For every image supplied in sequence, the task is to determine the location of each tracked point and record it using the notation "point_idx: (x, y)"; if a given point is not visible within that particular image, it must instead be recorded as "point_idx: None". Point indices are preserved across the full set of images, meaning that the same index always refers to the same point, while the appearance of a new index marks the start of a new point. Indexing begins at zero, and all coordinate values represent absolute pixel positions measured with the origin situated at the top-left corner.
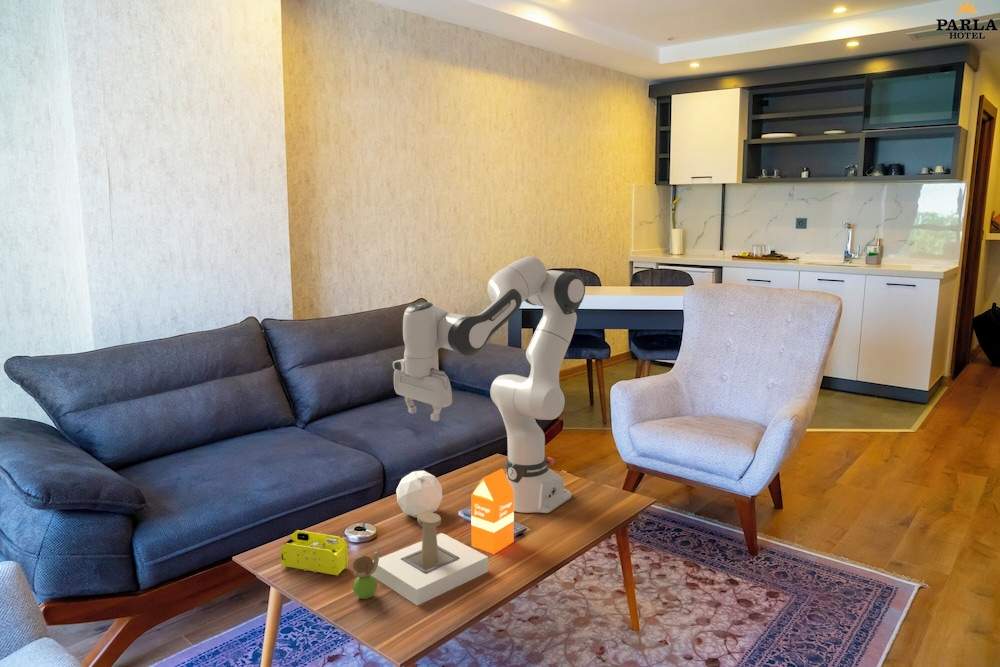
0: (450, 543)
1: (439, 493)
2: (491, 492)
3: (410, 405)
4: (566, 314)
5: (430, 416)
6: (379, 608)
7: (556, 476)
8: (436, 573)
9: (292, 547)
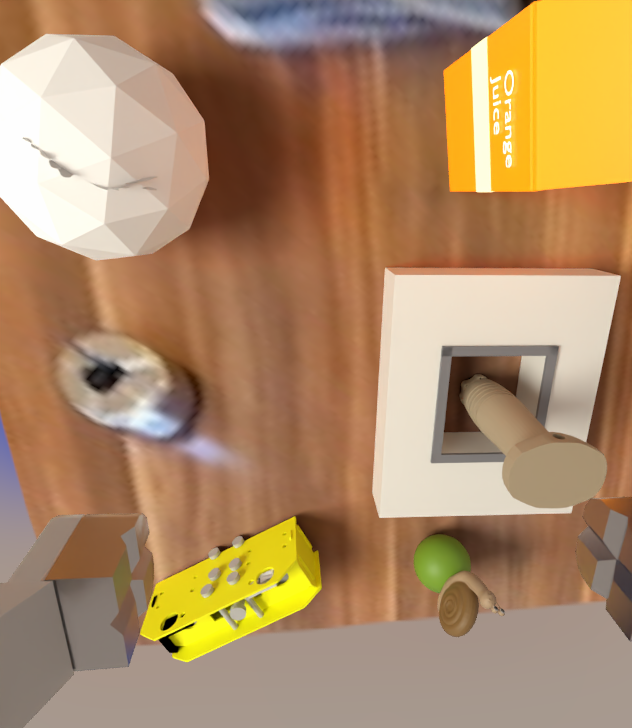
0: (471, 303)
1: (188, 105)
2: None
3: (49, 667)
4: None
5: (606, 609)
6: (491, 545)
7: None
8: None
9: (204, 647)
